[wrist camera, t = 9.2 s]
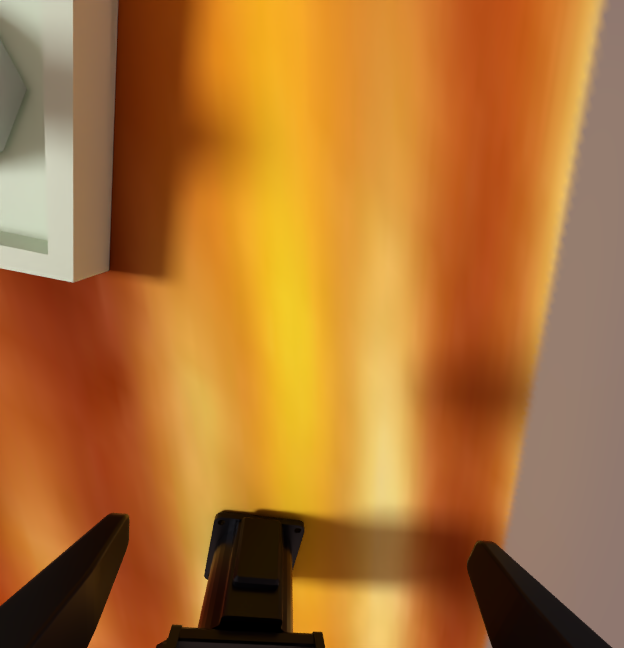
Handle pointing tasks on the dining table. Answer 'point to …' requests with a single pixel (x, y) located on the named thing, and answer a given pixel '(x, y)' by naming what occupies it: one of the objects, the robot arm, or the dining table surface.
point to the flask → (9, 95)
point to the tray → (59, 138)
